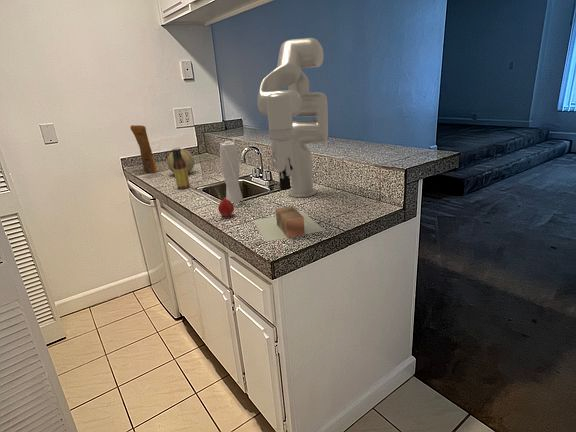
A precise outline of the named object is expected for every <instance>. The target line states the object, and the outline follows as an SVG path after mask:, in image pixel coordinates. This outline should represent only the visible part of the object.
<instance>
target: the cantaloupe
mask: <svg viewBox="0 0 576 432" xmlns="http://www.w3.org/2000/svg"><path fill="white" fill-rule="evenodd" d="M180 149H181V156H182V158H183V159H184V161H185V164H186V168H187V173H188V174H189V173H190V172H191V171H192V170H193V169H194V166H195V159H194V156H193V155H192V154H191V152H190V151H189V150H186V149H182V148H180ZM173 161H174V156H173V152H172V151H171V152H170V153H169V154H168V156H167V159H166V162H167V166H168V169H169V170H170V171H171V172H172V173H174V169H173Z"/></svg>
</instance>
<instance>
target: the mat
mask: <svg viewBox="0 0 576 432" xmlns="http://www.w3.org/2000/svg"><path fill="white" fill-rule="evenodd" d="M298 212H299V213H300V214H301V215H302V216H303V217H304V231H305V234H304V236H305V235H309V234H310V235H311V234H315V233H319V232H325V230H324V228H322V227H321V226H320V225H319V224H318V223H317V222H316V221H315V220H314V219H312V218H311V217H310V216H309V214H307V213H306V212H305V211H298ZM252 222H253V223H254V225H255V227H256V228H257V230H258V231H259V233H260V234H261V236H262V237H263V239H264V241H265V243H267V242H272V241H279V240H282V239H283V240H284V239H288V238H290V237H288V238H287V237H286V236H285V234H284V233H283V232H282V231H281V229H280V228H279V227H278V226H277V220H276V215H275V216H269V217H264V218H259V219H254V220H252Z"/></svg>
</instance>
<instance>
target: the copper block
mask: <svg viewBox="0 0 576 432" xmlns="http://www.w3.org/2000/svg"><path fill="white" fill-rule="evenodd" d="M299 212H300V211H298V210H297V209H296V208H294V206H293V205H292V206H285V207H284V206H283V207H279V208H275V216H276V220H277V226H278V227H279V228H280V229H281V231H282V232H283V233H284V234H285V236H286V237H287V238H286V239H288V237H289V238H294V237H299V236H303V235H304V234H305V231H304V217H303V216H302V215H301V214H300V213H299ZM305 235H306V234H305ZM305 235H304V236H305Z"/></svg>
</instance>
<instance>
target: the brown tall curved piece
mask: <svg viewBox="0 0 576 432" xmlns="http://www.w3.org/2000/svg"><path fill="white" fill-rule="evenodd" d="M129 128H130V130H131V132H132V133H133V136H134V138H135V140H136V142H137V145H138V147H139V151H140V156H141V161H142V166H143V171H144V172H146V173H149V174H156V173H157V172H158V168H157V164H156V161H155V158H154V155H153V151H152V147H151V145H150V140H149V137H148V133H147V128H146V126H144V125H137V124H136V125H134V124H133V125H130V127H129Z"/></svg>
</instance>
